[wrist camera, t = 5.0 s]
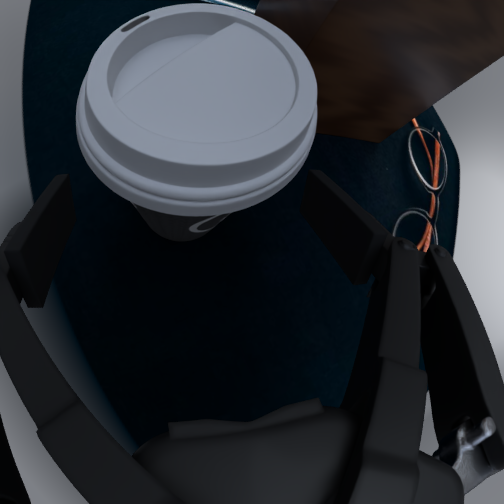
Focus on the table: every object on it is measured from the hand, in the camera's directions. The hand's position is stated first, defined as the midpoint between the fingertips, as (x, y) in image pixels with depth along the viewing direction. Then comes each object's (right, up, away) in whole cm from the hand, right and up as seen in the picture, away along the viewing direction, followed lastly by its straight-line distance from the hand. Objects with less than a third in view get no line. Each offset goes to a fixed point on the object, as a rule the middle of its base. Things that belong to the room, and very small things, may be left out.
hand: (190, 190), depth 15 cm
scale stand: (+10, +15, +13) cm, 23 cm away
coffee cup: (-2, +1, +8) cm, 8 cm away
